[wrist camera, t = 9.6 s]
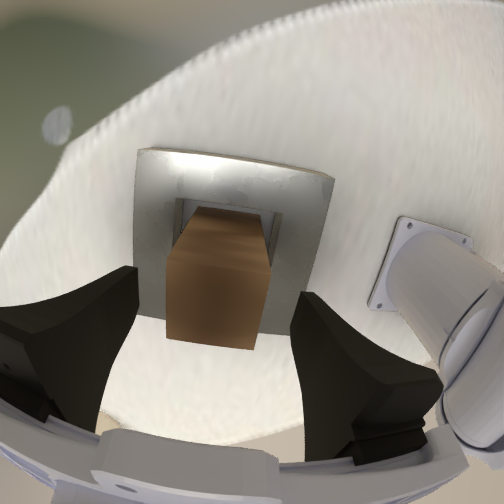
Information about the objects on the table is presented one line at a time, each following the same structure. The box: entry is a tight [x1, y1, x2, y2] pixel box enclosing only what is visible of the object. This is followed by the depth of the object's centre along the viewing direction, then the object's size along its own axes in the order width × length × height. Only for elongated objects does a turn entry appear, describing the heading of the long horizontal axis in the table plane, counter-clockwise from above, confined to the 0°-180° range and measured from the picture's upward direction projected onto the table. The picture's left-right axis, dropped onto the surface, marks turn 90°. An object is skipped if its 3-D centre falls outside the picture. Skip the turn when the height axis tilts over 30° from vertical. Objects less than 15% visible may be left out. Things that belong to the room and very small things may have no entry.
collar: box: [133, 147, 335, 336], centre depth 17 cm, size 11×11×2 cm
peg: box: [166, 206, 271, 350], centre depth 15 cm, size 4×4×8 cm
